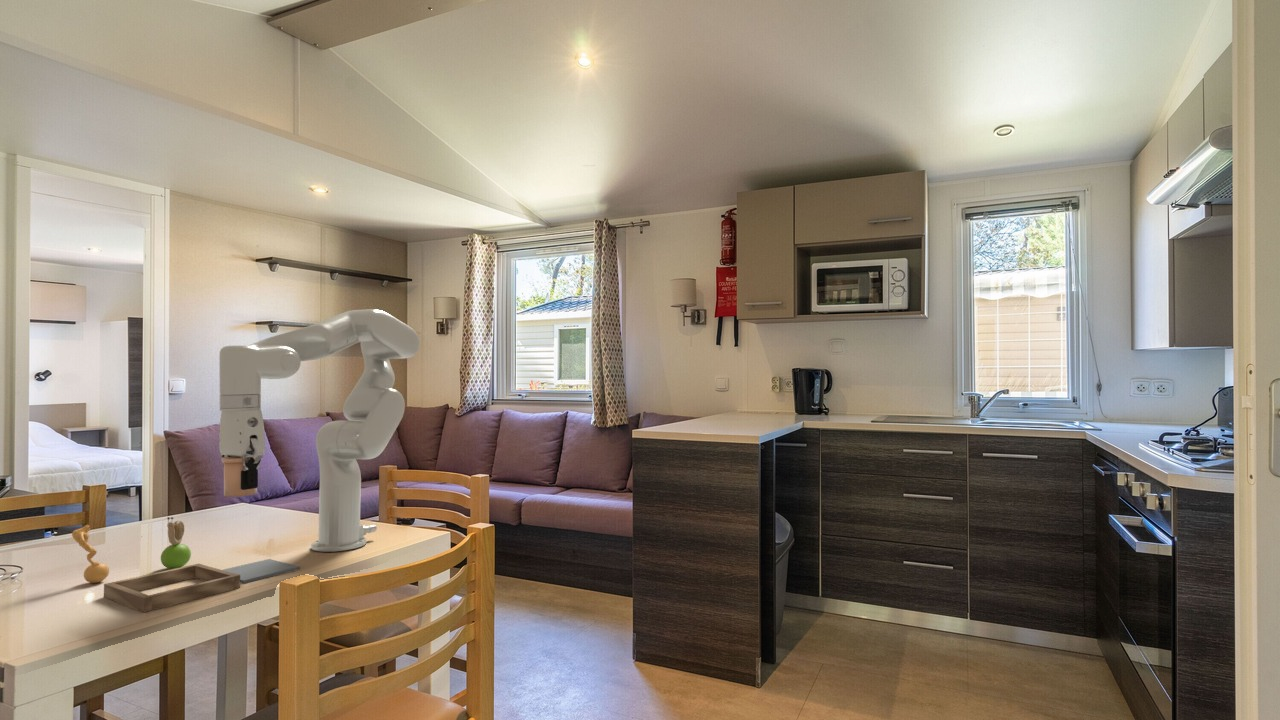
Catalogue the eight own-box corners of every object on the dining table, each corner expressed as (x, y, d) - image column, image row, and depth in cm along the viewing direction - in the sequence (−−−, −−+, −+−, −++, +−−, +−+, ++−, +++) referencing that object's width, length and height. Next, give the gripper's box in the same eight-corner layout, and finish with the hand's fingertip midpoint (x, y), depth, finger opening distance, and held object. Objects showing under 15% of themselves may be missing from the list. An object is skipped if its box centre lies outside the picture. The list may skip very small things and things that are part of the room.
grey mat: (269, 561, 147) (269, 558, 147) (299, 569, 141) (300, 566, 141) (212, 574, 136) (212, 571, 136) (243, 583, 130) (243, 580, 130)
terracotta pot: (248, 490, 141) (248, 453, 141) (265, 492, 137) (265, 455, 137) (215, 495, 135) (215, 457, 135) (232, 498, 131) (232, 459, 131)
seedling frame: (198, 575, 136) (198, 563, 136) (240, 587, 128) (240, 574, 128) (103, 597, 122) (104, 584, 122) (143, 612, 114) (144, 598, 114)
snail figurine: (153, 574, 137) (155, 517, 137) (166, 566, 143) (168, 512, 144) (182, 572, 138) (184, 516, 139) (194, 564, 145) (196, 511, 145)
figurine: (111, 584, 130) (113, 525, 130) (72, 591, 125) (74, 530, 126) (105, 576, 135) (107, 519, 136) (67, 582, 131) (69, 523, 131)
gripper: (280, 403, 135) (281, 488, 135) (237, 401, 144) (237, 481, 144) (244, 404, 129) (244, 494, 128) (200, 403, 138) (201, 486, 137)
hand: (240, 486), depth 136 cm, fingers closed on terracotta pot, 6 cm apart
